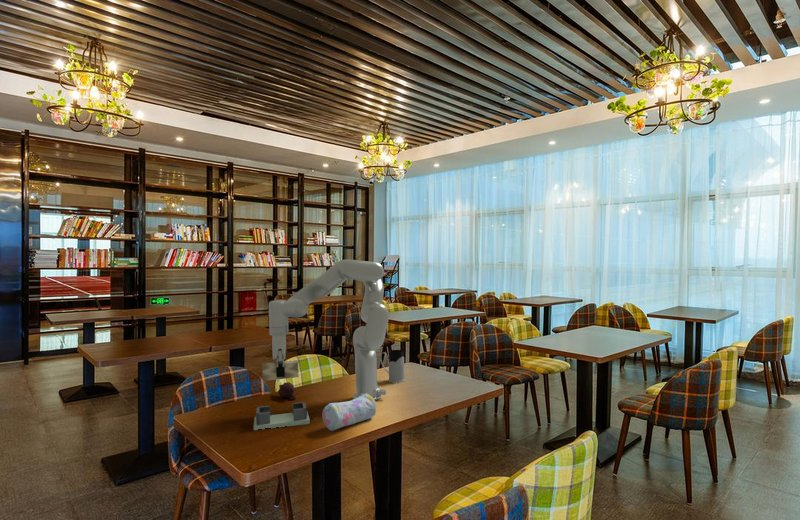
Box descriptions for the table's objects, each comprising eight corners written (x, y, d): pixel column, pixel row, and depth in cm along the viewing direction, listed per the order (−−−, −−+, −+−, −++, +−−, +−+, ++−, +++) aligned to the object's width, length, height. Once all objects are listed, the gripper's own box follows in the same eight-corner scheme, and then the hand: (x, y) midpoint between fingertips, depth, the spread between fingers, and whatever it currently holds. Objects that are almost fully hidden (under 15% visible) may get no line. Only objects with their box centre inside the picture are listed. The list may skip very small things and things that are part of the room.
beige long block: (297, 374, 192) (297, 360, 192) (298, 377, 187) (298, 362, 188) (262, 378, 188) (262, 363, 188) (262, 380, 183) (262, 365, 183)
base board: (307, 414, 183) (307, 411, 183) (309, 423, 172) (309, 419, 172) (254, 420, 178) (254, 417, 178) (253, 430, 167) (253, 426, 167)
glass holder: (399, 383, 227) (398, 353, 227) (376, 380, 235) (375, 351, 235) (408, 379, 235) (407, 350, 235) (385, 376, 242) (385, 348, 242)
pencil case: (363, 414, 182) (362, 390, 182) (378, 418, 176) (378, 394, 176) (320, 429, 166) (319, 403, 167) (336, 434, 161) (335, 407, 161)
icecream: (270, 382, 213) (284, 391, 201) (285, 375, 217) (299, 383, 205) (273, 395, 214) (288, 405, 202) (288, 388, 218) (303, 398, 207)
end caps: (305, 412, 182) (304, 401, 182) (306, 419, 173) (306, 408, 173) (257, 417, 177) (256, 407, 177) (256, 425, 168) (256, 414, 168)
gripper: (269, 328, 195) (270, 371, 195) (269, 334, 179) (271, 381, 179) (287, 327, 197) (289, 370, 197) (289, 332, 181) (290, 379, 181)
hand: (280, 374), depth 188 cm, fingers closed on beige long block, 5 cm apart
